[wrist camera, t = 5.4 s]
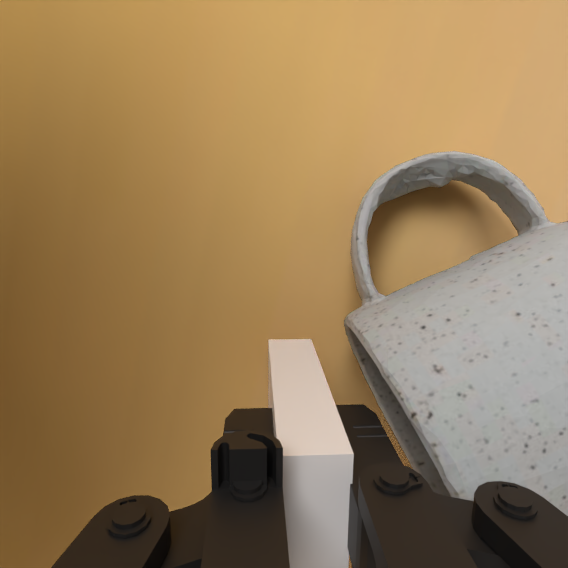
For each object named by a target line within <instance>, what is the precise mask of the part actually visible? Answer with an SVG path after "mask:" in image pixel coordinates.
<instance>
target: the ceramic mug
mask: <svg viewBox="0 0 568 568" xmlns="http://www.w3.org/2000/svg"><path fill="white" fill-rule="evenodd" d="M451 180H457V181H461V182H464V183H466V184H469V185H471V186H473V187H476V188H478V189H480V190H481V191H482V192H484V193H485V194H486V195H487V196H488V197H489V198H490V200H492V201H494V202H496V203H497V204H498V206H499V207H500V208H501V209H502V211H503V212H504V213H505V214H506V215H507V216H508V218H509V219H510V221H511V222H512V224H513V225H514V227H515V228H516V230H517V232H518V235H519V236H517V237H515V238H513V239H511V240H508V241H506V242H504V243H501V244H498V245H497V246H495V247H493V248H491V249H489V250H486V251H484V252H481V253H478V254H476V255H473V256H471V257H470V259H469V260H467V261H465V262H463V263H461V264H458V265H456V266H454V267H452V268H449V269H447V270H445V271H442V272H439V273H437V274H434V275H431V276H429V277H427V278H424V279H422V280H420V281H417V282H415V283H414V284H410V285H408V286H406V287H404V288H402V289H400V290H398V291H395V292H393V293H391V294H389V295H387V296H384V295H382V294H380V293H378V291H377V289H376V288H375V286H374V284H373V281H372V278H371V275H370V265H369V258H368V248H367V234H368V227H369V225H370V223H371V219H372V215H373V212H374V211H375V210H376V209H377V208H378V207H379V206H380V205H381V204H382V203H384V202H386V201H390V200H393V199H395V198H398V197H400V196H403V195H405V194H407V193H409V192H412V191H415V190H419V189H423V188H426V187H439V188H441V187H442V186H444V185H446V184H448V183H449V182H450V181H451ZM351 260H352V268H353V273H354V277H355V282H356V286H357V291H358V293H359V295H360V298H361V300H362V306H361V307H359V308H358V309H356V310H354V311H352V312H351V313H349V314H348V315H347V316H346V317H345V320H344V326H345V330H346V334H347V336H348V340H349V342H350V345H351V348H352V351H353V353H354V355H355V356H356V358H357V360H358V362H359V364H360V367H361V369H362V372H363V375H364V377H365V379H366V381H367V383H368V385H369V387H370V389H371V391H372V393H373V394H374V396H375V398H376V401H377V404H378V405H379V407H380V409H381V410H382V412H383V414H384V416H385V418H386V420H387V422H388V424H389V425H390V427H391V429H392V431H393V433H394V435H395V437H396V439H397V441H398V443H399V444H400V446H401V448H402V449H403V451H404V453H405V455H406V457H407V459H408V461H409V462H410V464H411V466H412V468H413V470H415V471H416V472H418V473H420V474H421V475H422V476H423V478H424V479H425V480H426V481H427V482H428V484H429V485H430V487H431V489H432V491H433V492H435V493H437V494H441V495H445V496H449V497H454V498H460V499H465V500H470V501H473V500H474V493H475V491H476V489H477V488H478V486H479V485H482V484H484V483H486V482H492V481H503V482H511V483H515V484H518V485H520V486H523V487H526V488H528V489H530V490H532V491H534V492H535V493H537V494H539V495H540V496H542V497H544V498H545V499H546V500H547V501H549V502H550V503H551V504H553V505H554V506H555V507H556V508H558V509H559V510H560V511H562V512H563V513H564V514H566V515H567V516H568V221H567V222H562V223H553V222H550V221H549V220H548V219H547V217H546V216H545V213H544V209H543V207H542V206H541V205H540V204H539V202H538V201H537V199H536V197H535V195H534V194H533V193H532V192H531V191H530V190H529V189H528V188H527V187H526V185H525V184H524V183H523V182H522V181H521V180H520V179H519V178H518V177H517V176H515V175H514V174H513V173H511V172H510V171H509V170H507V169H506V168H505V167H503V166H502V165H500V164H499V163H497V162H495V161H493V160H490V159H487V158H484V157H481V156H478V155H474V154H469V153H462V152H456V151H451V152H439V153H431V154H426V155H423V156H420V157H417V158H414V159H412V160H409V161H407V162H404V163H401V164H399V165H396V166H395V167H393V168H392V169H390V170H389V171H387V172H386V173H384V174H383V175H382V176H380V177H379V178H378V179H377V180H375V181H374V183H373V184H372V186H371V187H370V189H369V190H368V191H367V193H366V194H365V196H364V197H363V199H362V201H361V204H360V207H359V209H358V212H357V215H356V218H355V222H354V226H353V229H352V237H351Z"/></svg>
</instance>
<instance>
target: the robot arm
mask: <svg viewBox="0 0 568 568" xmlns="http://www.w3.org/2000/svg"><path fill="white" fill-rule="evenodd" d="M211 476H212V492H211V493H210V494H209V495H208V496H206V497H205V498H204V499H203V500H201V501H199V502H197V503H196V504H194V505H191V506H188V507H185V508H182V509H178V510H175V511H171V512H169V510H168V506H167V505H166V504H165V503H164V502H162V501H161V500H160V499H158V498H155V497H151V496H130V497H126V498H122V499H119V500H117V501H115V502H113V503H111V504H109V505H107V506H105V507H104V508H103V509H102V510H100V511H99V512H98V513H97V514H96V515H95V516H94V517H93V518H92V519H91V520H90V522H89V523H88V524H87V525H86V526H85V528H84V529H83V530H82V531H81V533H80V534H79V535H78V536H77V537H76V539H75V540H74V541H73V542H72V543H71V545H70V546H69V547H68V548H67V549H66V551H65V552H64V553H63V554H62V555H61V557H60V558H59V559H58V560H57V561H56V563H55V564H54V565H53V566H52V567H51V568H349V555H350V559H351V563H352V567H353V568H568V516H567V515H566V514H564V513H563V512H562V511H560V510H559V509H558V508H556V507H555V506H554V505H553V504H551V503H550V502H549V501H547V500H546V499H545V498H544V497H542V496H540V495H539V494H537V493H535V492H534V491H532V490H530V489H528V488H526V487H523V486H520V485H518V484H515V483H511V482H503V481H492V482H486V483H484V484H482V485H479V486H478V488H477V489H476V491H475V493H474V500H473V501H470V500H465V499H460V498H454V497H449V496H445V495H441V494H437V493H435V492H433V491H432V489H431V487H430V485H429V484H428V482H427V481H426V480H425V479H424V478H423V476H422V475H421V474H420V473H418V472H416V471H415V470H413V469H411V468H410V467H406V466H403V464H402V462H401V460H400V458H399V456H398V454H397V453H396V451H395V449H394V447H393V445H392V443H391V441H390V439H389V438H388V437H387V434H386V432H385V430H384V428H383V427H382V424H381V423H380V421H379V419H378V417H377V415H376V414H375V413H374V412H373V411H371V410H370V409H369V408H367V407H366V406H365V405H335V402H334V399H333V397H332V394H331V391H330V389H329V386H328V383H327V380H326V378H325V375H324V372H323V370H322V367H321V364H320V361H319V359H318V356H317V353H316V351H315V348H314V345H313V343H312V340H311V339H268V408H251V409H234V410H233V411H232V412H231V413H230V414H229V416H228V417H227V418H226V419H225V426H224V433H223V436H222V437H221V438H220V439H218V440H217V441H216V442H215V443H214V445H213V447H212V448H211Z"/></svg>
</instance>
